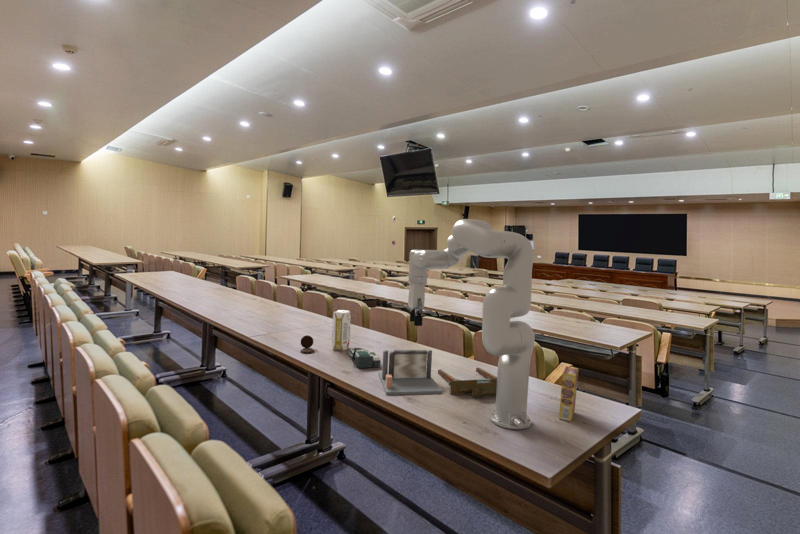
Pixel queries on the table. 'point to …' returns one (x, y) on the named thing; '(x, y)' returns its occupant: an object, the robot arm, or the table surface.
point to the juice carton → (341, 329)
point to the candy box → (568, 393)
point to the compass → (307, 344)
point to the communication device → (364, 358)
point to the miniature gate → (472, 384)
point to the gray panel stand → (408, 380)
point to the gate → (407, 363)
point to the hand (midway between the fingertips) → (415, 323)
